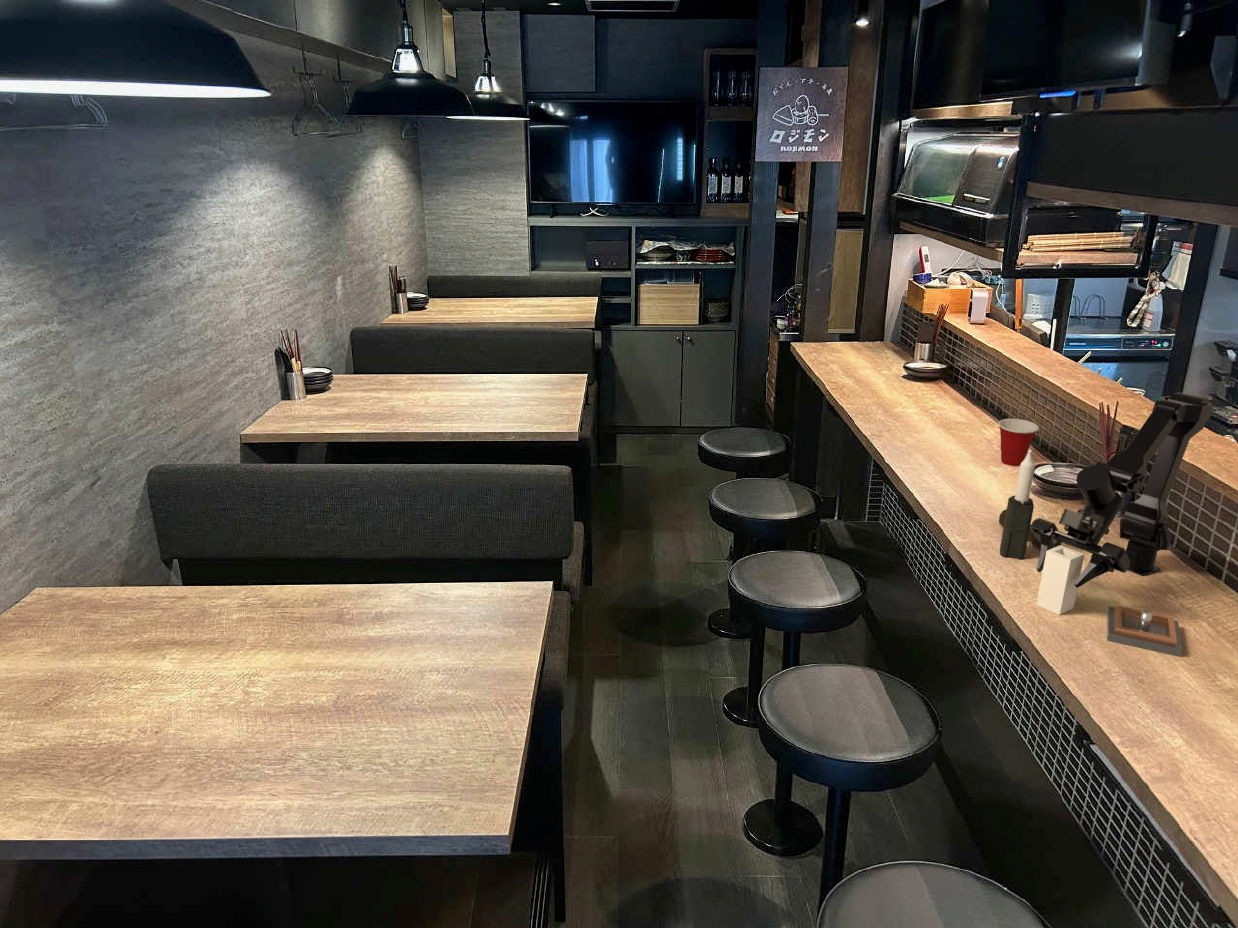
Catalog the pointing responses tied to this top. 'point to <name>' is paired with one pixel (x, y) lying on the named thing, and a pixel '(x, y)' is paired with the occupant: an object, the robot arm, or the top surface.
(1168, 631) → the seat plate
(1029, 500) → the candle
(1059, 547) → the sleeve
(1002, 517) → the hand tool
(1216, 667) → the top surface
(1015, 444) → the plastic cup
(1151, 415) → the robot arm
